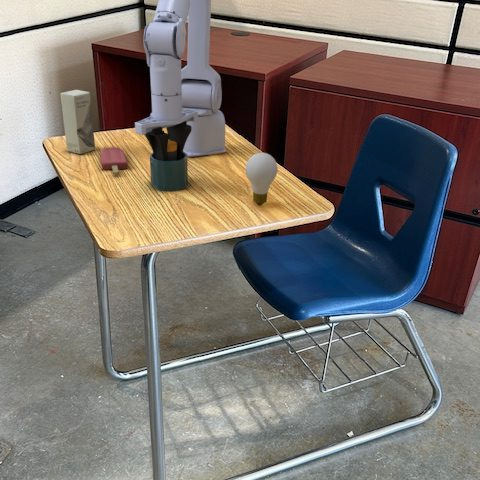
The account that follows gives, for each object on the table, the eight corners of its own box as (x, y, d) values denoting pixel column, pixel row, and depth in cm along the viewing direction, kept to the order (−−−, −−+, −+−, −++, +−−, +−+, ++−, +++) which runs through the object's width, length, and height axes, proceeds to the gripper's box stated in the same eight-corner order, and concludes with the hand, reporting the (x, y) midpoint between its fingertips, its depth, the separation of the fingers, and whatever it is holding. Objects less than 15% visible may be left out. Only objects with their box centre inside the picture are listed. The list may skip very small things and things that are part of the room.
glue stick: (169, 168, 124) (168, 139, 121) (181, 172, 122) (180, 143, 119) (157, 172, 122) (155, 142, 118) (168, 176, 120) (167, 146, 117)
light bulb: (239, 207, 114) (241, 155, 109) (250, 196, 119) (252, 146, 113) (269, 213, 113) (272, 160, 107) (278, 201, 117) (282, 151, 112)
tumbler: (179, 175, 127) (179, 147, 124) (193, 187, 122) (193, 158, 119) (146, 180, 125) (144, 152, 121) (158, 193, 119) (157, 163, 116)
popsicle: (102, 170, 124) (99, 147, 137) (103, 177, 125) (99, 154, 137) (128, 168, 126) (122, 146, 138) (129, 175, 126) (123, 153, 139)
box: (80, 155, 136) (73, 96, 129) (66, 151, 138) (58, 93, 131) (96, 149, 140) (90, 91, 133) (82, 145, 142) (76, 88, 135)
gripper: (180, 83, 120) (181, 150, 128) (122, 94, 111) (127, 166, 118) (205, 89, 116) (205, 158, 124) (147, 102, 107) (151, 176, 115)
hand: (168, 163), depth 121 cm, fingers closed on glue stick, 3 cm apart
